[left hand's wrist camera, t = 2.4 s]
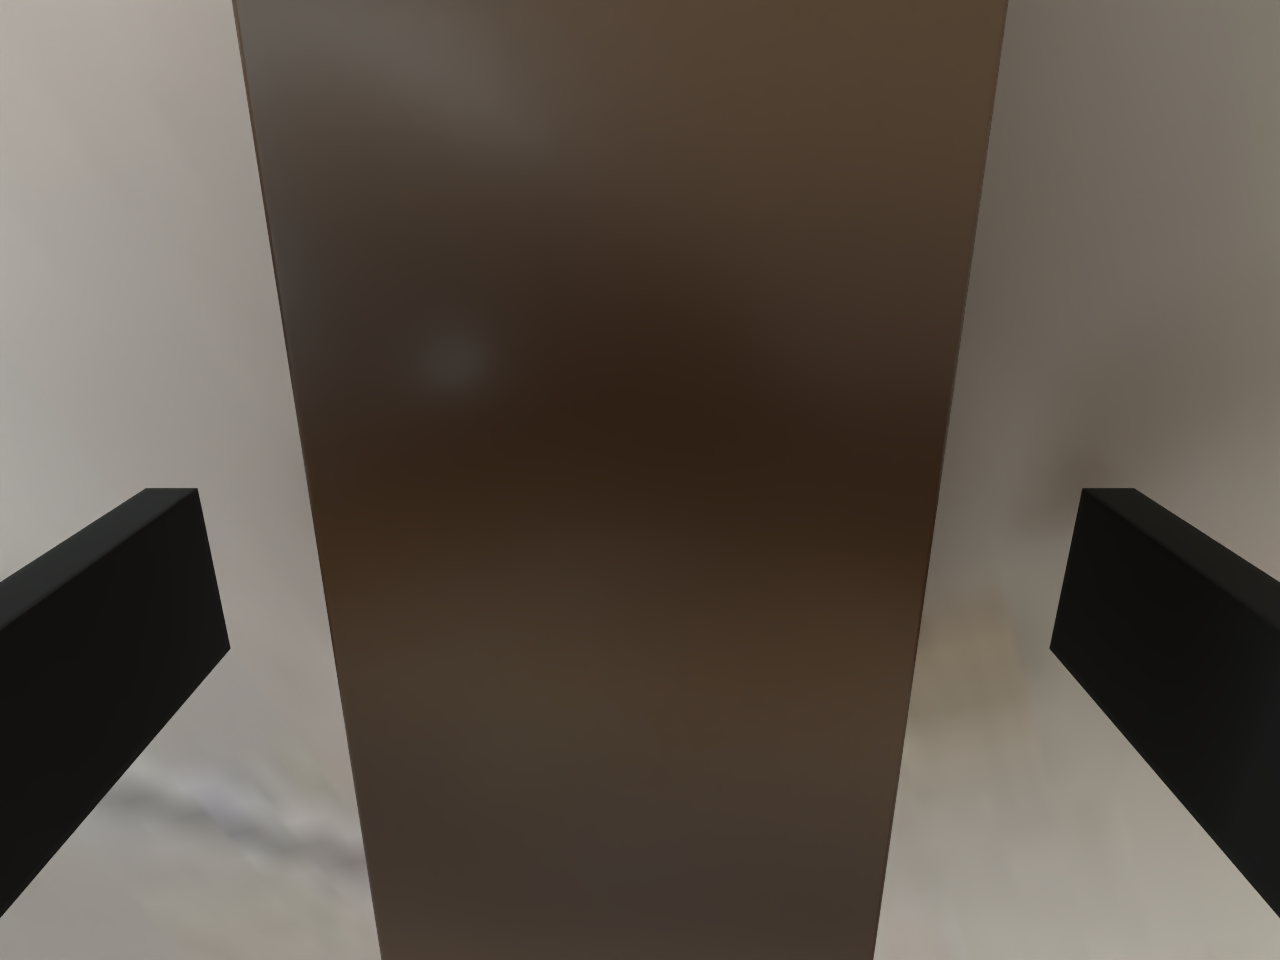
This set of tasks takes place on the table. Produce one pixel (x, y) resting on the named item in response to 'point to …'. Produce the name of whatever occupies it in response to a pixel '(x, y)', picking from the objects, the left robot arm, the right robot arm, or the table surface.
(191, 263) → the table surface
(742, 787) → the bar
